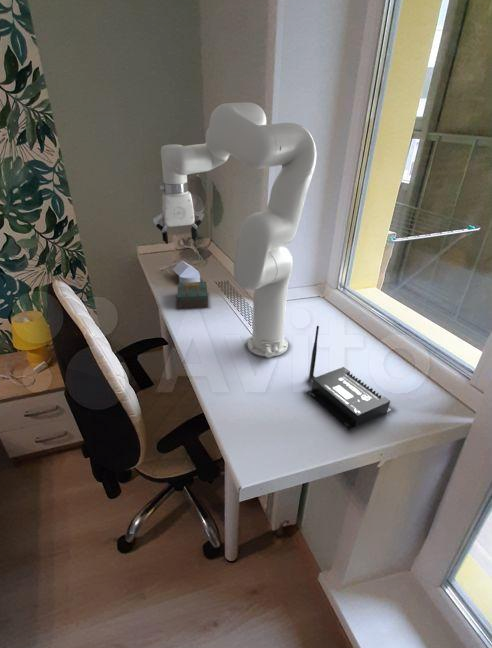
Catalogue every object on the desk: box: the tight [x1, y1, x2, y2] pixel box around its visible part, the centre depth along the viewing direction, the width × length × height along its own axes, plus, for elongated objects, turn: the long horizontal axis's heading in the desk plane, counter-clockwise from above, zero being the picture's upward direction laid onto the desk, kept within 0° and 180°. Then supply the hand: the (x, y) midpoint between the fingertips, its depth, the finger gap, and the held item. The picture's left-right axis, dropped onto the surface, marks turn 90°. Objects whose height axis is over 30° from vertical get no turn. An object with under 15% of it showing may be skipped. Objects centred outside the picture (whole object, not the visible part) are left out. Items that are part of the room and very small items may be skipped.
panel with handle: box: [176, 281, 209, 301], centre depth 143 cm, size 13×11×6 cm
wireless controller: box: [306, 325, 392, 431], centre depth 94 cm, size 20×14×17 cm
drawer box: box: [177, 298, 209, 310], centre depth 146 cm, size 13×11×4 cm
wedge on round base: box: [172, 260, 201, 283], centre depth 163 cm, size 9×7×13 cm
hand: (180, 241), depth 132 cm, fingers open, 9 cm apart
